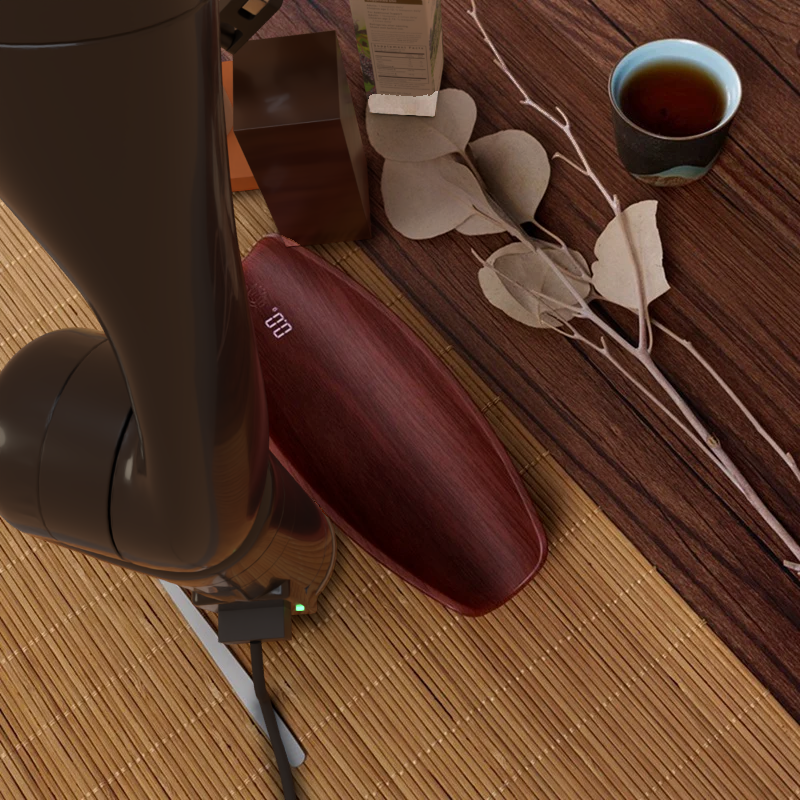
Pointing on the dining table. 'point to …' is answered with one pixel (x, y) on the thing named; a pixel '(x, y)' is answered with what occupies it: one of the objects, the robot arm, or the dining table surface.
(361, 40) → the syrup box
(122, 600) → the dining table surface
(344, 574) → the dining table surface
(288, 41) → the column
